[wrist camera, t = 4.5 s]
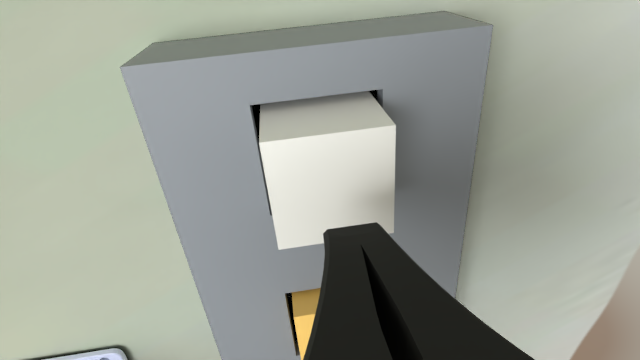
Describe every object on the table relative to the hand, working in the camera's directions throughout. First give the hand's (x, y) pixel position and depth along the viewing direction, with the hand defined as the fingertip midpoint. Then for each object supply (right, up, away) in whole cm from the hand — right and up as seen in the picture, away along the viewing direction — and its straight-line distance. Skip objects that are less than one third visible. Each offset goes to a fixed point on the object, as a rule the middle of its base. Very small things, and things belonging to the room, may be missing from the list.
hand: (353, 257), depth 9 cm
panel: (-1, -3, +13) cm, 13 cm away
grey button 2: (-1, +3, +5) cm, 7 cm away
